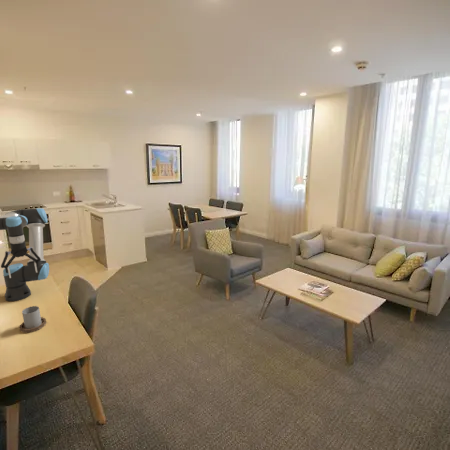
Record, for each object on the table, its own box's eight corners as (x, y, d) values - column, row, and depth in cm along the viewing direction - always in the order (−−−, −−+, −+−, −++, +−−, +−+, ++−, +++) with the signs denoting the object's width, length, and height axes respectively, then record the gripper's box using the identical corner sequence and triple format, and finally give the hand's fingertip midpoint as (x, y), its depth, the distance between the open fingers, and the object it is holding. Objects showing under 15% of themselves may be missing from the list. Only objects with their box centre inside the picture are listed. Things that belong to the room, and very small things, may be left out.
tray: (19, 324, 173) (19, 322, 173) (44, 317, 181) (44, 314, 180) (21, 335, 163) (20, 332, 163) (47, 327, 171) (47, 324, 170)
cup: (33, 329, 167) (30, 314, 164) (21, 328, 169) (18, 312, 166) (44, 321, 175) (42, 306, 172) (33, 319, 177) (30, 305, 174)
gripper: (-9, 247, 164) (-2, 281, 169) (42, 239, 179) (47, 271, 184) (-9, 244, 169) (-2, 277, 175) (40, 236, 184) (46, 267, 190)
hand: (23, 274), depth 180 cm, fingers open, 13 cm apart
